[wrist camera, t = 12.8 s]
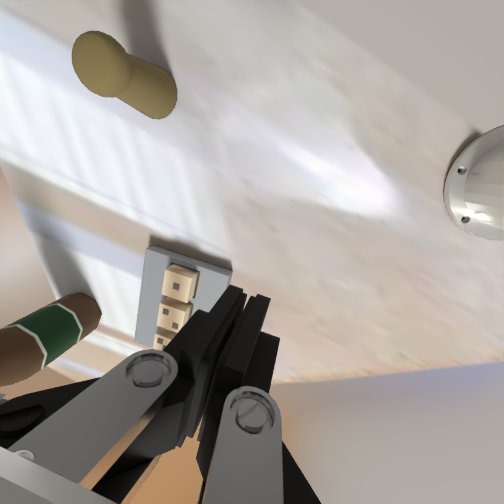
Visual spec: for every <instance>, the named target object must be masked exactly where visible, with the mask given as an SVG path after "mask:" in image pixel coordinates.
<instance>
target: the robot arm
mask: <svg viewBox="0 0 504 504" xmlns="http://www.w3.org/2000/svg"><path fill="white" fill-rule="evenodd" d="M458 169H460V172H459V173H458V172H457V171H458ZM444 199H445V205H446V208H447V211H448V214H449V215H450V217H451V219H452V220H453V221H454V222H455V224H456V225H457V226H458V227H459V228H461V229H462V230H464V231H465V232H467V233H469V234H471V235H474V236H476V237H479V238H482V239H486V240H491V241H504V125H503V126H499V127H497V128H495V129H492V130H490V131H488V132H486V133H484V134H483V135H481V136H480V137H478V138H477V139H476V140H474V141H473V142H472V143H471V144H469V145H468V146H467V147H466V148H465V149H464V150H463V151H462V152H461V154H460V155H459V156H458V157H457V159H456V160H455V162H454V163H453V165H452V167H451V169H450V171H449V173H448V176H447V179H446V182H445V189H444ZM462 217H463V219H462V220H461V218H462ZM246 298H247V294H245V293H243V289H242V288H239V287H236V286H233V285H229V286H228V287H227V289H226V290H225V291H224V293H223V294H222V295H221V297H220V298H219V299H218V301H217V302H216V303H215V305H214V306H213V307H212V309H211V310H210V311H209V312H206V311H203V310H200V309H198V310H197V311H196V312H195V313H194V314H193V315H192V316H191V318H190V319H189V320H188V321H187V322H186V323H185V325H184V326H183V327H182V328H181V329H180V331H179V332H178V333H177V334H176V335H175V336H174V338H173V339H172V340H171V341H170V342H169V343H168V345H167V346H166V347H165V348H164V349H163V351H161V350H155V349H149V350H142V351H139V352H136V353H134V354H132V355H130V356H129V357H127V358H126V359H125V360H123V361H122V362H121V363H119V364H118V365H117V366H115V367H114V368H113V369H111V370H110V371H109V372H107V373H106V374H105V375H104V376H102V377H99V378H95V379H90V380H86V381H82V382H77V383H73V384H69V385H65V386H60V387H55V388H51V389H47V390H43V391H38V392H34V393H29V394H25V395H22V396H19V397H16V398H13V399H11V400H7V395H6V394H0V504H129V503H130V502H131V500H132V499H133V497H134V496H135V495H136V493H137V492H138V490H139V489H140V488H141V486H142V485H143V483H144V482H145V481H146V479H147V478H148V476H149V475H150V474H151V472H152V471H153V469H154V468H155V466H156V465H157V464H158V462H159V460H160V458H161V456H162V454H163V453H165V452H168V451H170V450H172V449H175V447H176V446H178V447H180V448H181V446H182V444H183V442H184V440H185V438H186V436H188V437H190V438H192V437H193V436H194V433H195V432H196V429H197V427H198V425H199V423H200V421H201V418H202V416H203V419H202V423H201V426H200V431H199V435H198V438H197V440H198V441H200V445H199V448H198V452H197V456H196V460H197V462H198V465H199V468H200V471H201V474H202V477H203V481H202V484H201V488H200V493H199V497H198V502H197V504H321V502H320V501H319V499H318V497H317V496H316V494H315V493H314V491H313V489H312V488H311V486H310V484H309V483H308V481H307V480H306V478H305V477H304V475H303V473H302V472H301V470H300V468H299V467H298V465H297V464H296V462H295V460H294V459H293V457H292V456H291V454H290V452H289V451H288V449H287V448H286V446H285V444H284V443H283V441H282V428H281V415H280V409H279V408H278V405H277V404H276V402H275V400H274V399H273V398H272V397H271V396H270V395H269V389H270V385H271V380H272V375H273V370H274V366H275V361H276V356H277V351H278V346H279V342H280V338H278V337H276V336H273V335H270V334H267V333H264V332H262V331H261V328H262V325H263V322H264V319H265V316H266V312H267V309H268V306H269V303H270V299H271V298H268V297H265V296H262V295H259V294H257V296H256V297H254V296H251V297H250V298H249V300H248V302H247V304H246V306H245V308H244V305H245V301H246ZM243 309H244V310H243ZM203 414H204V415H203Z"/></svg>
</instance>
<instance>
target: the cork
mask: <svg viewBox="0 0 504 504" xmlns="http://www.w3.org/2000/svg"><path fill="white" fill-rule="evenodd" d="M72 64H73V67H74V70H75V73H76V74H77V76H78V78H79V79H80V81H81V82H82V84H83V85H84V86H85V87H87V88H88V89H89V90H90V91H91V92H93V93H95V94H97V95H100V96H103V97H117V98H118V99H120V100H122V101H123V102H125V103H127V104H128V105H130V106H131V107H133V108H135V109H136V110H138V111H139V112H141V113H143V114H144V115H146V116H148V117H150V118H152V119H162V118H165V117H167V116H168V115H169V114H170V113H171V112H172V111H173V109H174V108H175V105H176V101H177V88H176V84H175V81H174V79H173V78H172V76H171V75H170V74H169V73H168V72H167V71H166V70H165V69H163V68H161V67H158V66H156V65H154V64H151V63H149V62H147V61H144V60H142V59H139V58H137V57H135V56H132V55H130V54H128V53H126V51H125V49H124V48H123V47H122V46H121V45H120V44H119V43H118V42H117V41H116V40H115V39H114V38H113V37H111V36H110V35H107V34H105V33H103V32H100V31H88V32H86V33H83V34H81V35H80V36H79V37H78V38H77V39H76V41H75V43H74V45H73V49H72Z"/></svg>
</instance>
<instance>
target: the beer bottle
mask: <svg viewBox="0 0 504 504" xmlns="http://www.w3.org/2000/svg"><path fill="white" fill-rule="evenodd" d="M101 315H102V314H101V312H100V310H99V308H98V305H97V303H96V301H95V300H93V299H92V298H90V297H88V296H87V295H85V294H83V293H76V294H72V295H68V296H65V297H63V298H61V299H59V300H57V301H55V302H53V303H51V304H49V305H47V306H45V307H43V308H41V309H39V310H37V311H35V312H33V313H31V314H29V315H27V316H25V317H23V318H21V319H19V320H17V321H16V322H14V323H12V324H10V325H8V326H6V327H4V328H2V329H0V386H6V385H11V384H14V383H17V382H19V381H22V380H24V379H27V378H29V377H30V376H32V375H33V374H35V373H36V372H38V371H40V370H41V369H42V368H44V367H45V366H46V365H48V364H49V363H51V362H52V361H53V360H55V359H56V358H57V357H59V356H60V355H61V354H63V353H64V352H65V351H67V350H68V349H69V348H71V347H72V346H73V345H75V344H76V343H78V342H79V341H80V340H82V339H83V338H84V337H86V336H87V335H88V334H90V333H91V332H92V331H93V330H94V329H96V328H97V326H98V323H99V321H100V318H101Z"/></svg>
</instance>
